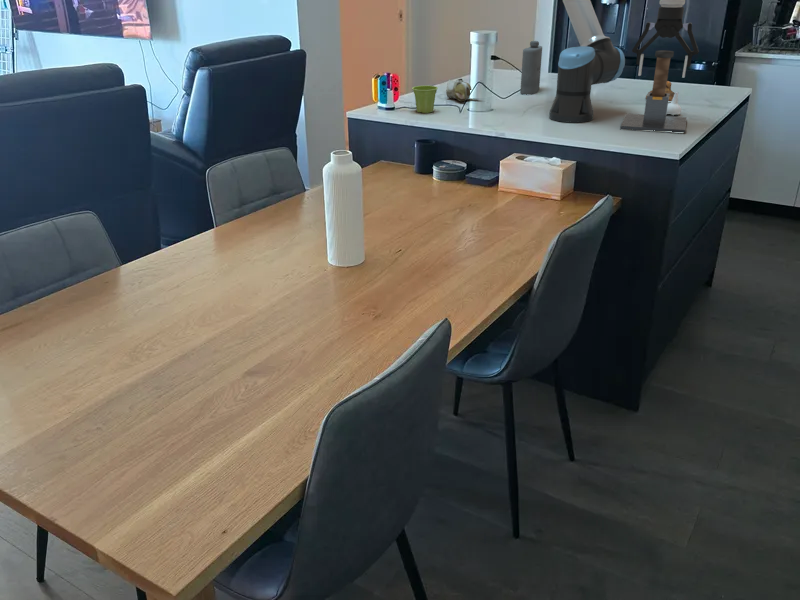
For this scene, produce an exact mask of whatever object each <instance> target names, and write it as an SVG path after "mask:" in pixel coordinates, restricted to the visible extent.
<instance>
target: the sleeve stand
mask: <svg viewBox="0 0 800 600" xmlns="http://www.w3.org/2000/svg"><path fill="white" fill-rule="evenodd" d="M669 94H670V93H665V96H652V92H650V91H648V92H647V94H646V95H647V98H646V97H645V107H644V114H641V113H640V114H639V113H625V116H624V117H623V119H622V122H621V124H620V128H619V130H621V129H631V130H630V131H636V130H653V131H654V130H655V131H672V132H685V133H686V127H687V118H688V117H687V116H674V115H667V114H666V113H667V107H668V104H669V103H668V100H669ZM632 129H633V130H632Z"/></svg>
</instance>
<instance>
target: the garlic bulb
mask: <svg viewBox="0 0 800 600" xmlns="http://www.w3.org/2000/svg"><path fill="white" fill-rule="evenodd" d="M674 93H675V95H674V97H673V99H672V102H670V103H668V107H667V113H666V115H667V114H680V113H681V114H682V107H681V105H680V104H679V103H678V99H679V98H678V97H679V92H677V91H676V92H674ZM681 114H680V115H681Z"/></svg>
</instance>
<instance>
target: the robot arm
mask: <svg viewBox="0 0 800 600" xmlns="http://www.w3.org/2000/svg"><path fill="white" fill-rule="evenodd" d="M562 3H563V5H564V8H565V10H566V13H567V15H568V18H569V21H570V23H571V25H572V29H573V31H574V33H575V36H576V39H577V41H578V43H579V46H573V47H567V48H565V49H563V50H562V51H561V52H560V53H559V59H558V64H557V65H558V67H557V79H556V92H555V93H556V94H555V97H554V99H553V102H552V103H551V104H552V105H551V108H550V109H549V115H548V118H549V119H550V120H553V121H556V122H562V123H585V122H591V121H592V120H594V109H593V108H594V107H593V104H592V98H591V91H592V86H594V85H599V84H607V83H610V82H613V81H615V80H617V79H618V78H619V77H620V76H621V75H622V73H623V70H624V68H625V64H626V58H625V57H626V56H625V53H624V52H623V50H622V49H621V48H618V47H617V46H614V45H613V42H612V40H611V38H610V36H605V34H604V32H603V30H602V26H601V24H600V22H599V19H598V17H597V14H596V12H595V9H594V7H593V4H592V1H591V0H562ZM685 3H686V0H659V5H660V6H659V7H658V12H657V19H656V22H650V21H647V22H646V24H645V27H644V31H643V32H642V33H641V35H640V36H639V38H638V40H637V41H636V43H635V44H634V46H633V48H632V50H631V52H632V53H635V54H636V62H635V64H636V65H638V67H639V68H638V72H637V73H638V75H637V76H638V77H640V76H642V73H643V72H642V70H643V63H644V57H645V56H644V55H645V54H644V53H643V52H644V51H645V50H646V49H647V48H648V47H650V46H651V44H653V42H655V40H657V39H658V38H659V37H661V38H662V39H663V38H669V39H672V38H676V40H677V41H678V42H679V44H680V46H681V47H682V48H683V50H684V51H685V52H686V54H687V55H685V57H684V58H685V59H684V63H683V70H682V77H681V78H685V77H686V71H687V67H690V66H691V65H692V59H693V58H692V57H693V56H697V55H698V54H699V52H700V49H699V47H698V44H697V42H696V39H695V35H694V33H693V23H692V22H688V23H683V17H684V10H685V8H684V5H685ZM653 28H654V29H655V30H656V32H655V33H654V34H653V36H651V38H649V39H648V40H647V42H646V43H644V45H642V46H641V48H639V47H640V45H641V43H643V40H644V38H645V37H646V36H647V34H648V32H649V31H651V30H652V29H653ZM683 28H684V30H685V31H686V32H687V35H688V37H689V40H690V43H691V47H692V49H693V50H691V49H690V47H689V46H688V44H687V43H686V41H685V39H684V38H683V37H682V35H681V33H680V31H681V30H682V29H683Z"/></svg>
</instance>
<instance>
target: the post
mask: <svg viewBox="0 0 800 600" xmlns="http://www.w3.org/2000/svg"><path fill="white" fill-rule="evenodd" d="M674 55H675V51H673V50H664V49H663V50H655V54H654V57H656V63H655V70H654V77H653V83H652V90H651V91H652V96H665V91H666V84H667V81H668V78H669V70H670V63H671V58H674Z"/></svg>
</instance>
